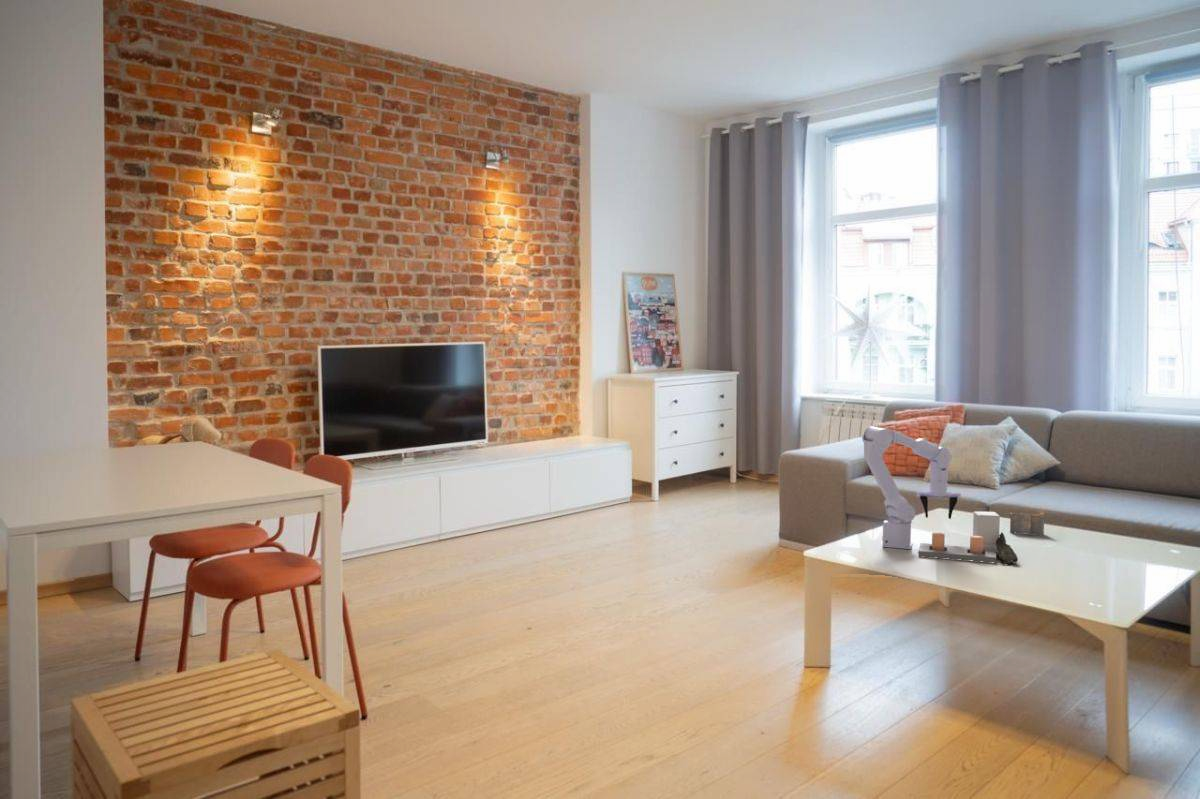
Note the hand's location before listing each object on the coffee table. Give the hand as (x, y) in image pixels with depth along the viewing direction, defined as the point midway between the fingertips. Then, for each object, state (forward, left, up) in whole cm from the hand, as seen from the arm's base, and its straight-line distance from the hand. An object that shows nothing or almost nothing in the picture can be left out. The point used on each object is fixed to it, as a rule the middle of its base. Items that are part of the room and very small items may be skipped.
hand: (938, 517), depth 316 cm
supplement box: (+16, -2, -10) cm, 19 cm away
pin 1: (+1, -16, -10) cm, 18 cm away
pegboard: (+7, -16, -10) cm, 20 cm away
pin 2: (+13, -16, -10) cm, 22 cm away
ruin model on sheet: (+30, +29, -10) cm, 43 cm away
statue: (+21, -13, -10) cm, 27 cm away
